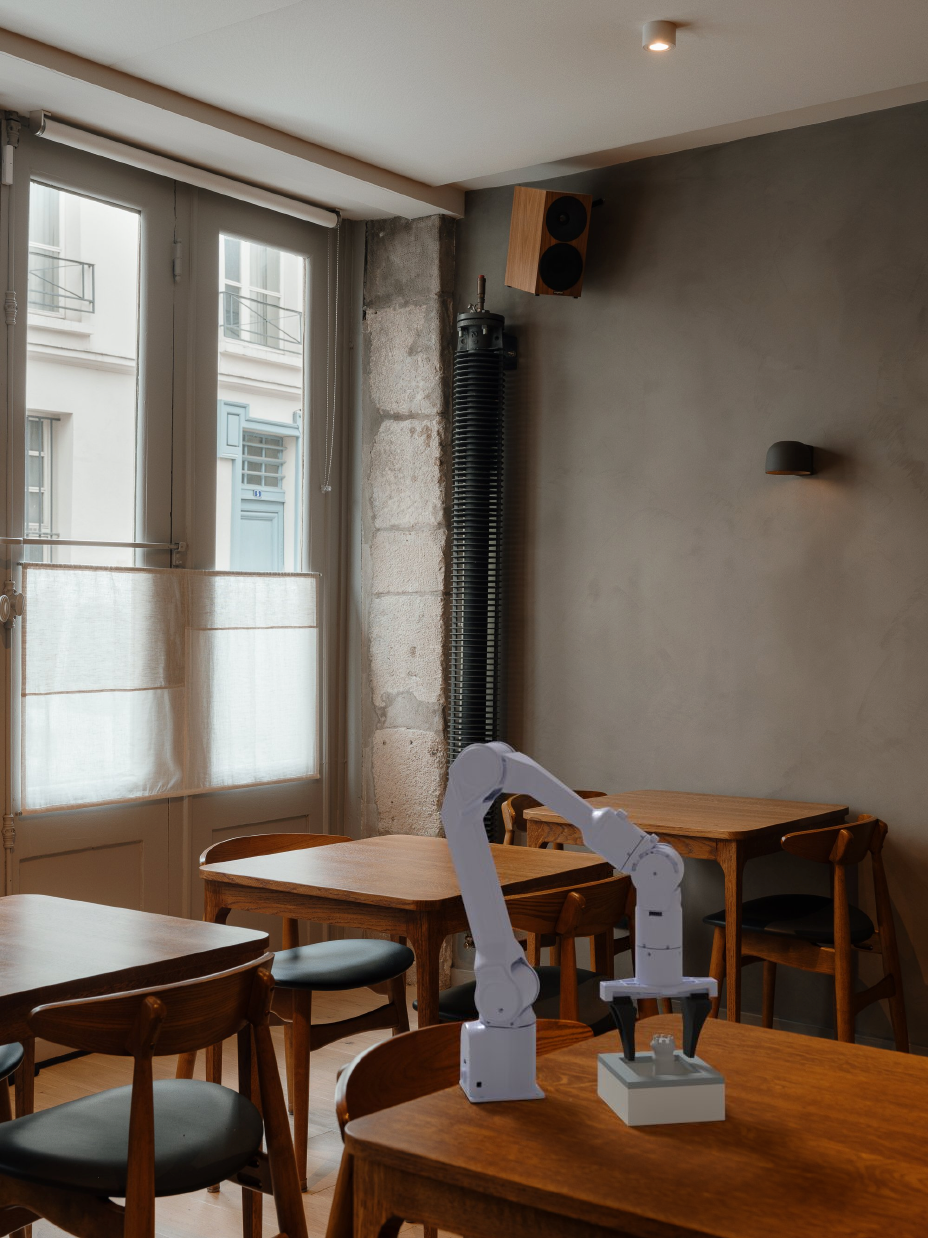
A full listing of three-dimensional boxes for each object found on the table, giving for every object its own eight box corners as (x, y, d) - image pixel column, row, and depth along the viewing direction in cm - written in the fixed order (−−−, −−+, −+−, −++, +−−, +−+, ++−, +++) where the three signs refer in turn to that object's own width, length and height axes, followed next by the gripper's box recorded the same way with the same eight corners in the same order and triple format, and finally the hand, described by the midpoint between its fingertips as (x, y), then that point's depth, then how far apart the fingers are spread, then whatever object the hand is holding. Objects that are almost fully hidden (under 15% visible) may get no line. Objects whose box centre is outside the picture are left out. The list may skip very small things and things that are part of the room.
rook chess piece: (679, 1112, 151) (678, 1043, 152) (642, 1108, 153) (641, 1040, 153) (685, 1100, 155) (684, 1034, 156) (648, 1097, 157) (648, 1031, 157)
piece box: (628, 1126, 148) (628, 1082, 148) (597, 1094, 160) (597, 1054, 160) (724, 1120, 150) (724, 1077, 150) (687, 1089, 162) (687, 1049, 162)
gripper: (612, 953, 151) (612, 1070, 150) (727, 949, 154) (727, 1064, 153) (594, 942, 158) (595, 1053, 157) (705, 938, 160) (705, 1048, 160)
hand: (659, 1057), depth 155 cm, fingers open, 7 cm apart
